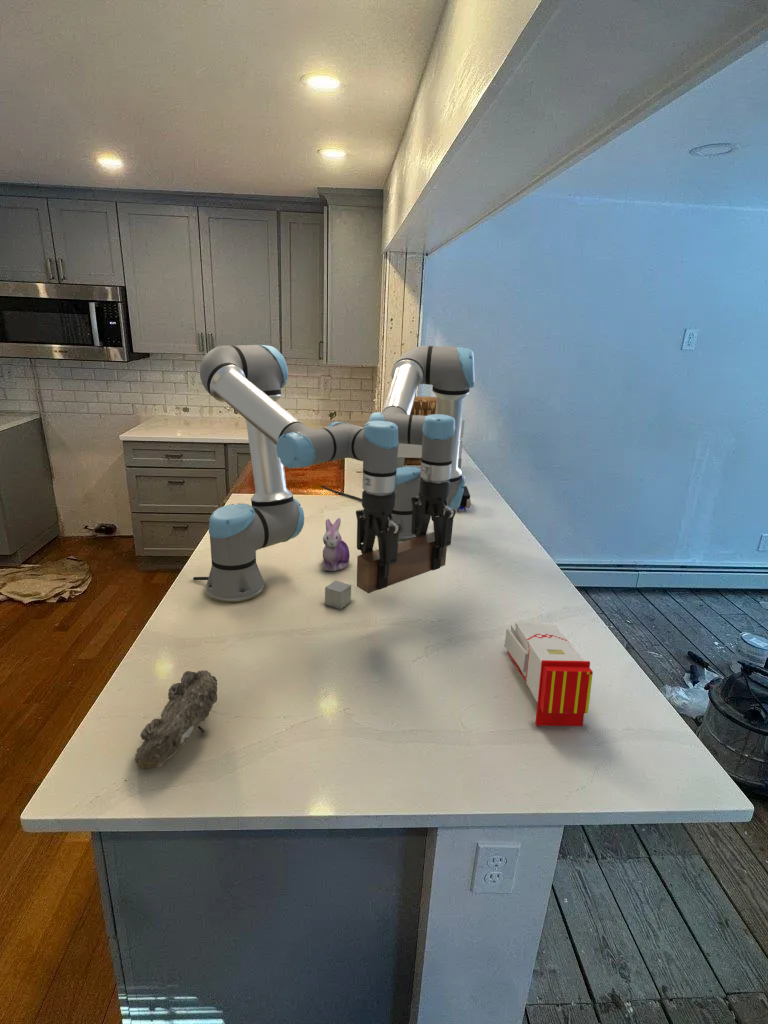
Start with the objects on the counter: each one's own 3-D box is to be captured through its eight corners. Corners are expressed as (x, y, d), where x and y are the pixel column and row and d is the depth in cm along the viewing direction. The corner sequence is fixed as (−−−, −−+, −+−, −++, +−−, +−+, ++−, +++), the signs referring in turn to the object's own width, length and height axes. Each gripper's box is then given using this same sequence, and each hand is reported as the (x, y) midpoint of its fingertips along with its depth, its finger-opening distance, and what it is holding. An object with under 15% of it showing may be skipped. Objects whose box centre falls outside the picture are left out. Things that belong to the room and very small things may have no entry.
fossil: (167, 671, 114) (219, 638, 109) (200, 702, 116) (252, 671, 112) (109, 762, 94) (169, 727, 89) (151, 796, 97) (212, 765, 92)
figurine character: (470, 516, 223) (465, 500, 237) (473, 499, 220) (467, 484, 233) (453, 516, 223) (449, 500, 236) (455, 498, 220) (451, 483, 233)
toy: (550, 607, 134) (601, 667, 105) (545, 659, 137) (594, 732, 108) (499, 606, 134) (537, 666, 104) (495, 659, 137) (530, 731, 107)
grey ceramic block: (324, 604, 151) (325, 587, 149) (335, 596, 155) (335, 580, 153) (340, 609, 149) (340, 592, 147) (350, 601, 153) (351, 584, 151)
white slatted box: (382, 463, 289) (386, 382, 275) (445, 464, 293) (451, 384, 279) (390, 482, 257) (394, 392, 243) (460, 483, 261) (468, 394, 247)
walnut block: (356, 586, 135) (357, 555, 132) (433, 559, 151) (435, 531, 148) (368, 593, 132) (369, 562, 129) (445, 565, 148) (447, 537, 145)
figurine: (327, 574, 167) (327, 527, 162) (315, 561, 175) (315, 515, 170) (356, 569, 171) (357, 523, 166) (343, 556, 179) (343, 511, 174)
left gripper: (342, 483, 131) (340, 574, 139) (392, 504, 119) (387, 602, 127) (367, 478, 136) (364, 567, 144) (417, 498, 124) (411, 593, 132)
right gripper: (399, 472, 143) (395, 557, 151) (450, 490, 130) (442, 581, 138) (421, 468, 147) (415, 550, 155) (472, 485, 135) (463, 573, 143)
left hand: (375, 583), depth 136 cm, fingers closed on walnut block, 4 cm apart
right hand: (428, 565), depth 147 cm, fingers closed on walnut block, 4 cm apart
